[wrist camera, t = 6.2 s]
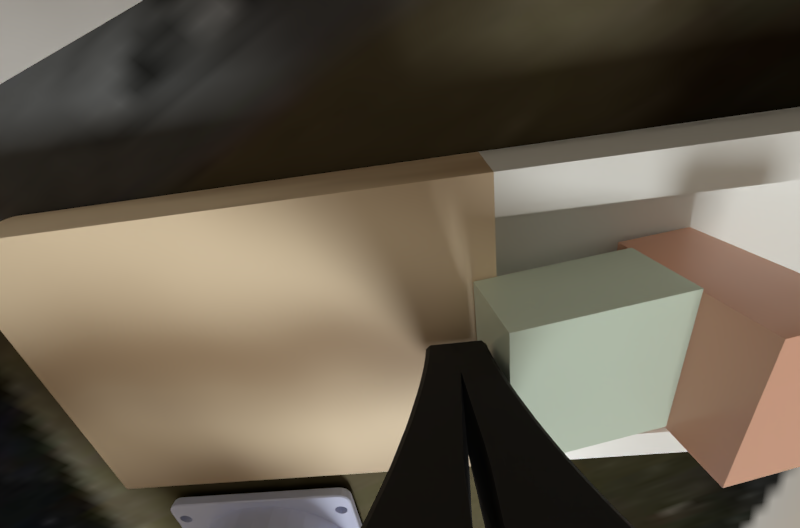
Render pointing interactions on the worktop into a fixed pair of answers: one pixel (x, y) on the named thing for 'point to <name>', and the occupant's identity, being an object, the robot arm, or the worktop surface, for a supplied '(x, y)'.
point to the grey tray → (650, 202)
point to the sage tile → (591, 342)
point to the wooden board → (251, 316)
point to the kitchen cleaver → (47, 28)
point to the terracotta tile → (735, 357)
